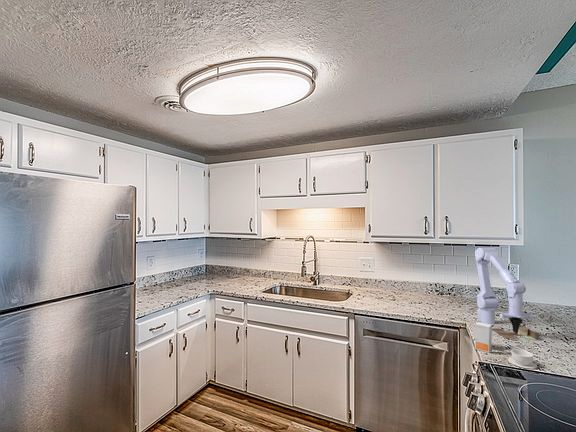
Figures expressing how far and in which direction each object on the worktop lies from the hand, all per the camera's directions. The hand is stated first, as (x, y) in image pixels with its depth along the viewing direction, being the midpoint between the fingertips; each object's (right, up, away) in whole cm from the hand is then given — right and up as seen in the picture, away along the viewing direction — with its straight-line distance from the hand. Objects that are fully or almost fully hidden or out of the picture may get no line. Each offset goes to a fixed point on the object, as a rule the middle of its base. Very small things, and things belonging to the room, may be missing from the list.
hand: (515, 332), depth 160 cm
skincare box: (-27, -2, -16) cm, 31 cm away
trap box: (-1, -3, 0) cm, 3 cm away
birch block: (+2, -1, 0) cm, 3 cm away
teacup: (-19, -3, -29) cm, 35 cm away
